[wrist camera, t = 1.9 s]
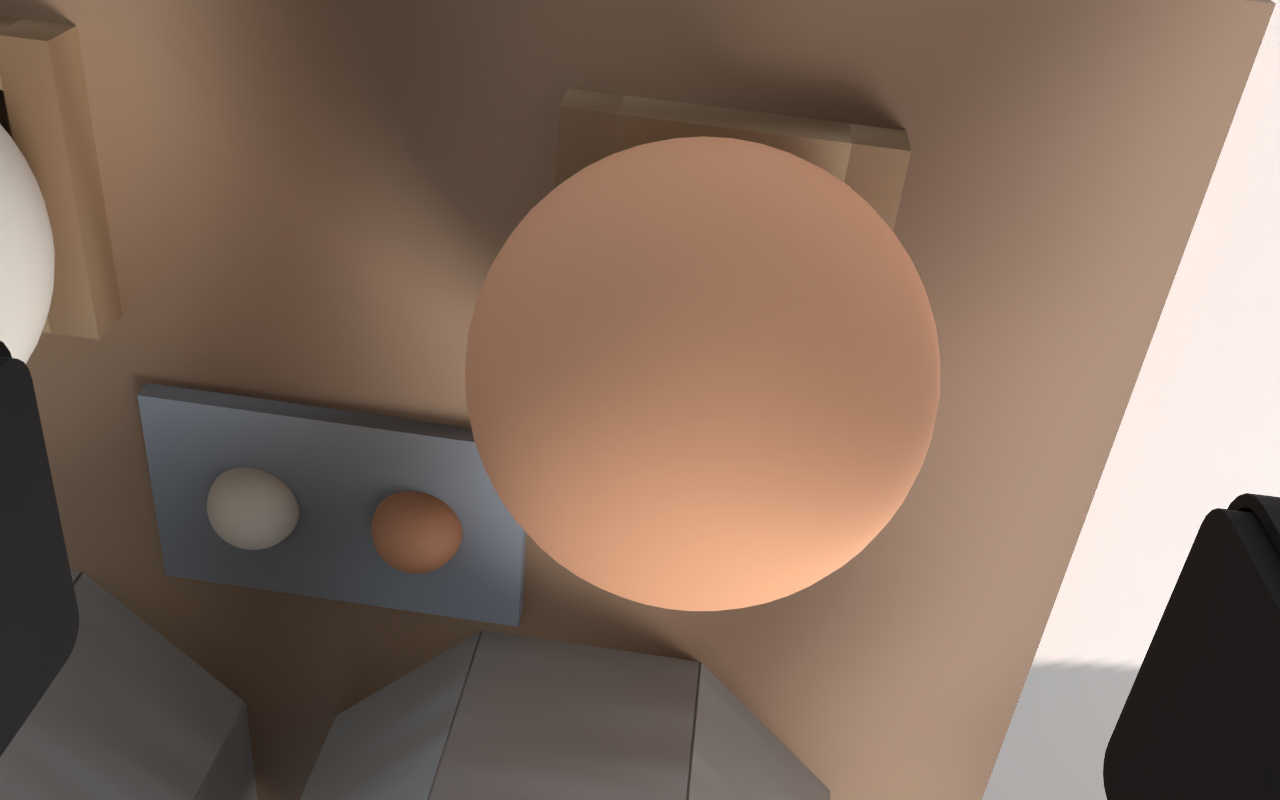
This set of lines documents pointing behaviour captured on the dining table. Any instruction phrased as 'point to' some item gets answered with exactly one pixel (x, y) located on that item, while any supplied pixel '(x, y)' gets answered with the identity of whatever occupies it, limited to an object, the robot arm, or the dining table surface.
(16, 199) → the ball cream
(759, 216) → the ball terracotta
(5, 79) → the stand
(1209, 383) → the dining table surface
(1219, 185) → the dining table surface
